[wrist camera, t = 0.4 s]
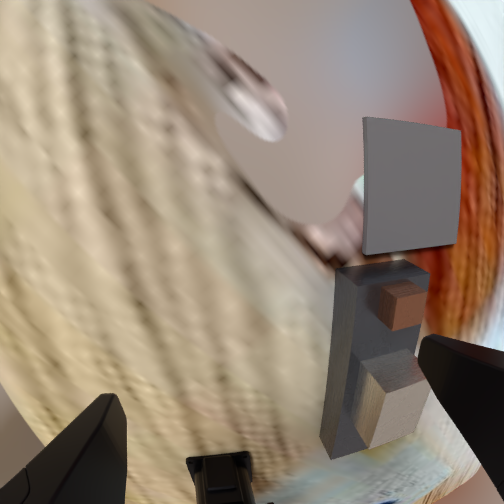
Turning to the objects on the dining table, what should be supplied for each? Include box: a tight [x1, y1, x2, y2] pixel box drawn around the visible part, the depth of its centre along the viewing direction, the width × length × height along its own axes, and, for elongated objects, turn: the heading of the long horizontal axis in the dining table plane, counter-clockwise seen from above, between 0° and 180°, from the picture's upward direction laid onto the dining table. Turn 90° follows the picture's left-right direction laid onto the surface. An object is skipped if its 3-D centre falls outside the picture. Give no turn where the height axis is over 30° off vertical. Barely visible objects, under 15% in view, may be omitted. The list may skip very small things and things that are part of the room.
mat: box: [362, 117, 461, 255], centre depth 22 cm, size 10×10×1 cm
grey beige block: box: [350, 348, 431, 449], centre depth 21 cm, size 6×4×4 cm
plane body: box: [320, 259, 430, 460], centre depth 24 cm, size 19×6×6 cm, turn 3°
